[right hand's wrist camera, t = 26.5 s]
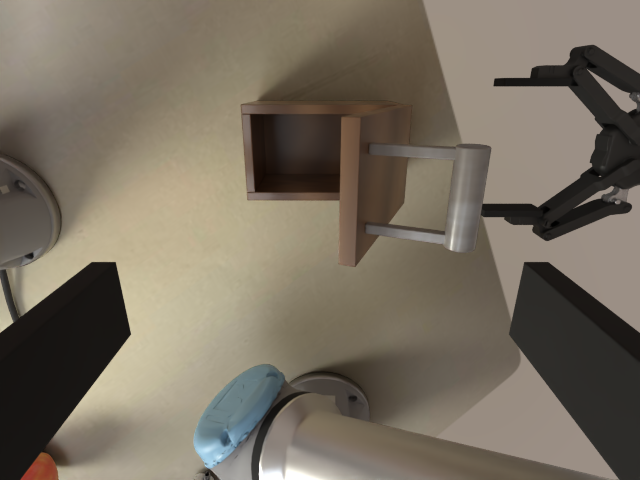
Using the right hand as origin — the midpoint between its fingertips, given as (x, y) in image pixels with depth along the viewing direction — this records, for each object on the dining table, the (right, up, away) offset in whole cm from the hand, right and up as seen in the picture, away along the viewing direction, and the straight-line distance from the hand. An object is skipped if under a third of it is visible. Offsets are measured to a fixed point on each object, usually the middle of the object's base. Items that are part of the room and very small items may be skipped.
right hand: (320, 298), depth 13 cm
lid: (+4, +8, +19) cm, 21 cm away
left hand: (+18, +12, +29) cm, 36 cm away
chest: (0, +14, +36) cm, 38 cm away
